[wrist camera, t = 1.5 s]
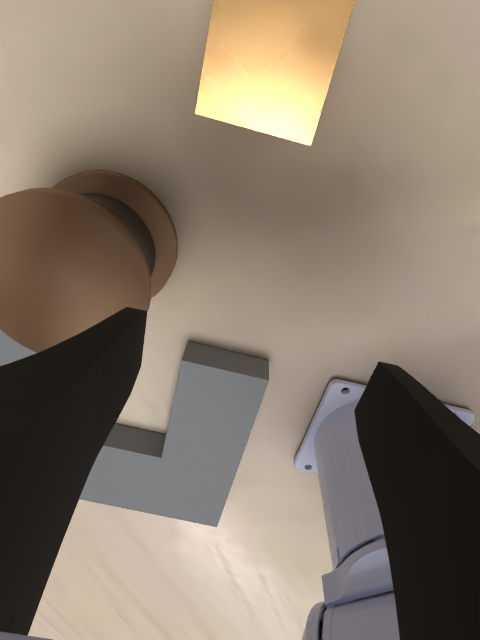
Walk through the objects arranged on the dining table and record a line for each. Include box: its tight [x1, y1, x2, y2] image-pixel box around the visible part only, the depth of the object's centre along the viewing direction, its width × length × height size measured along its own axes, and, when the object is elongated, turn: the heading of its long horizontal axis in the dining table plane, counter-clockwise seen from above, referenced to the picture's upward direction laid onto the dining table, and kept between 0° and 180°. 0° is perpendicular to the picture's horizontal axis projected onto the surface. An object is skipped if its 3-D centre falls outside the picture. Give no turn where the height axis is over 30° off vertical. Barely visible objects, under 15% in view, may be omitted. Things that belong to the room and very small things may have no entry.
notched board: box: [0, 330, 269, 527], centre depth 25 cm, size 18×14×2 cm
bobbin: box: [0, 170, 177, 353], centre depth 17 cm, size 7×7×6 cm
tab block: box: [195, 0, 355, 146], centre depth 14 cm, size 4×4×5 cm
